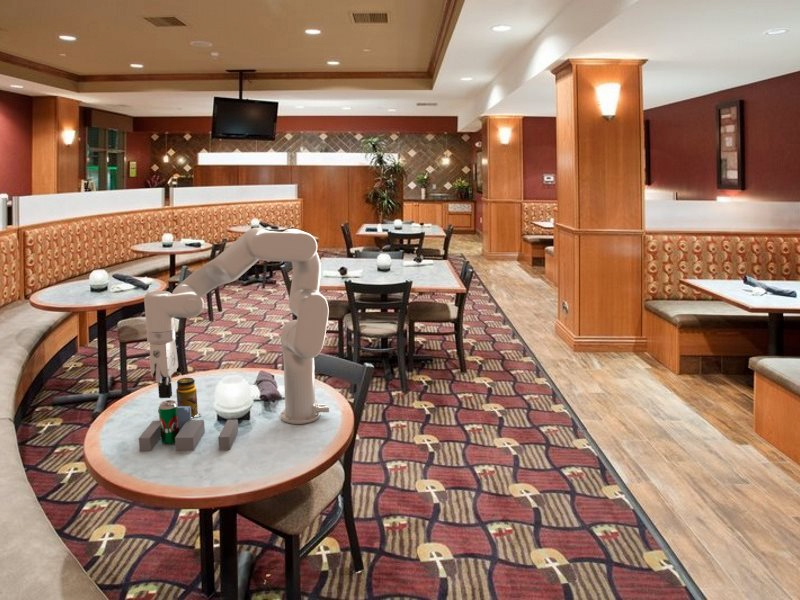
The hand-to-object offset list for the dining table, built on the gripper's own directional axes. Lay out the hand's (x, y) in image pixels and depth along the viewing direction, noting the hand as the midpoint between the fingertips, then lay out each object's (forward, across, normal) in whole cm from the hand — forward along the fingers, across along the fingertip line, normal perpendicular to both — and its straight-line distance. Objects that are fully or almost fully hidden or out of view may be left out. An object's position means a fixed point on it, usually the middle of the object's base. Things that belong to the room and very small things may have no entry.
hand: (165, 396), depth 177 cm
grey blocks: (+14, 0, -6) cm, 15 cm away
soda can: (+14, 0, 0) cm, 14 cm away
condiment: (+14, +19, +1) cm, 24 cm away
